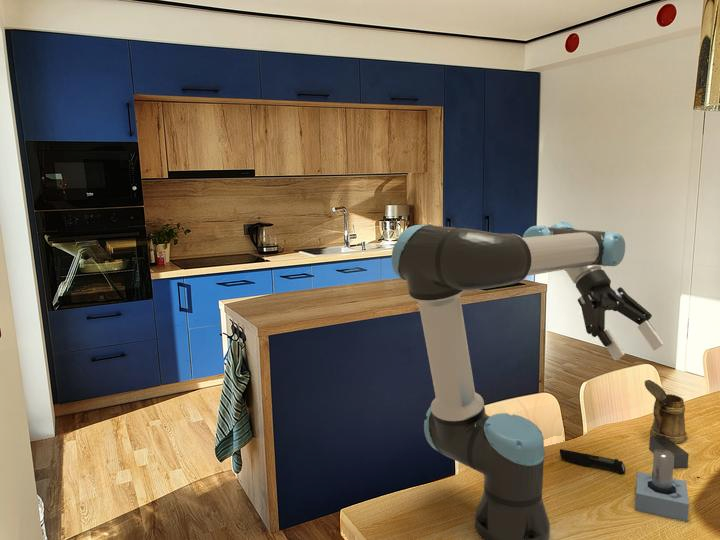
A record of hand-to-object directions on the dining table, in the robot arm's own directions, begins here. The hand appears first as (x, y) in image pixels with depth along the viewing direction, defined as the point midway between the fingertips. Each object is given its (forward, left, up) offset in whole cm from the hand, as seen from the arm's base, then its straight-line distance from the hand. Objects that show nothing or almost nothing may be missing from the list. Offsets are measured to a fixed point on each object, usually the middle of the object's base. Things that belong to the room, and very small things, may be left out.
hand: (639, 352), depth 129 cm
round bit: (+6, -6, -33) cm, 34 cm away
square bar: (+8, +17, -33) cm, 38 cm away
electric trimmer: (-9, +6, -33) cm, 35 cm away
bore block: (+6, -6, -33) cm, 34 cm away
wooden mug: (+7, +29, -33) cm, 45 cm away
